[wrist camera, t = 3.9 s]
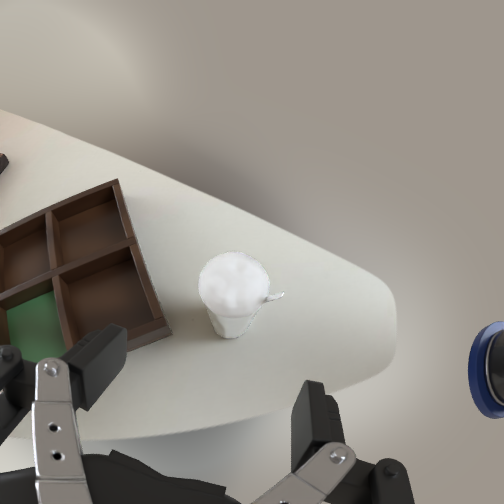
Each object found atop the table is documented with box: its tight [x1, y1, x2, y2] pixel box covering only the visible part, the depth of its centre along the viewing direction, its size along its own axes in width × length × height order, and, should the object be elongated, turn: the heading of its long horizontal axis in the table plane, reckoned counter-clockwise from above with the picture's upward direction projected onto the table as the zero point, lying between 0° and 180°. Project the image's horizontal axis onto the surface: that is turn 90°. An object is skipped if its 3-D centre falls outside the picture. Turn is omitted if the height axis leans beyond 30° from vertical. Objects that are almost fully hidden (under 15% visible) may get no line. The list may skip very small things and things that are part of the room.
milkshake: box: [198, 251, 284, 339], centre depth 22 cm, size 4×5×10 cm
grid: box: [0, 178, 172, 363], centre depth 25 cm, size 17×17×3 cm
